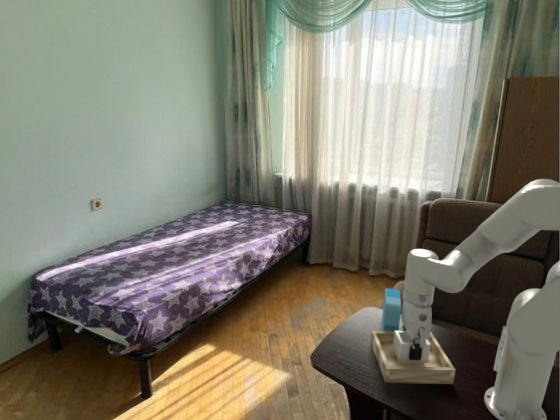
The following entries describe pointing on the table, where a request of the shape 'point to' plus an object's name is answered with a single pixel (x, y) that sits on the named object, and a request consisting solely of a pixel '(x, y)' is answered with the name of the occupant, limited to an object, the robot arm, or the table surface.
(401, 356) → the white open box
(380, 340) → the wooden tray
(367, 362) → the table surface
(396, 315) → the data package
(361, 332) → the table surface
